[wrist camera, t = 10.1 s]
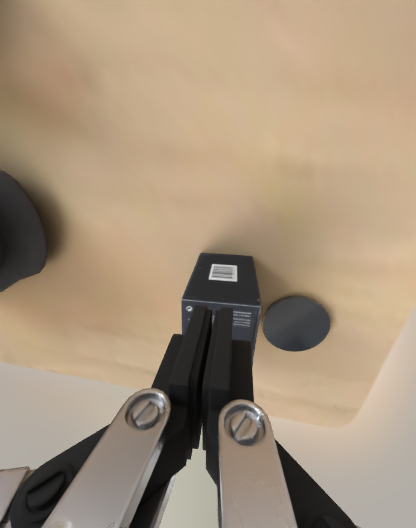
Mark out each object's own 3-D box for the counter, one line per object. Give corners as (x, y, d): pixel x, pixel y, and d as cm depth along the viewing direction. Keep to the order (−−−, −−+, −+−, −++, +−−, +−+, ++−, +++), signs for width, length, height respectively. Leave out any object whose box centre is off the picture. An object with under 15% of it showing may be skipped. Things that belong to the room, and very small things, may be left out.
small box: (174, 299, 17) (178, 397, 21) (263, 306, 16) (250, 406, 21) (197, 251, 27) (197, 325, 31) (253, 255, 26) (246, 330, 30)
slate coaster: (335, 298, 27) (337, 300, 26) (321, 351, 30) (322, 354, 29) (265, 293, 28) (266, 295, 27) (259, 345, 31) (259, 348, 30)
